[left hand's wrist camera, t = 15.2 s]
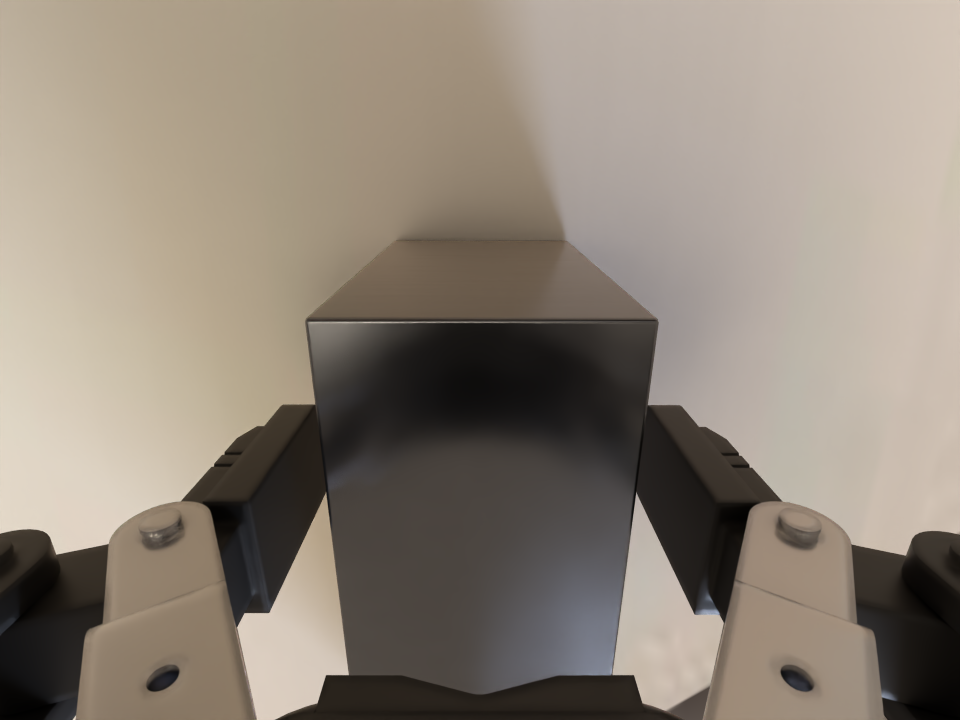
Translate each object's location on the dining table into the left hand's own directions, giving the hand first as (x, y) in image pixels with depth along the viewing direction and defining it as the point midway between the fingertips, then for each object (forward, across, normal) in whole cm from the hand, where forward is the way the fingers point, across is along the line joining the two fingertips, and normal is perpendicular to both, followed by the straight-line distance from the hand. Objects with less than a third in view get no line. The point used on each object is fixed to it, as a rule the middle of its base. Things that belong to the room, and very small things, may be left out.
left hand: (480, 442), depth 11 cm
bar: (+7, 0, +8) cm, 11 cm away
